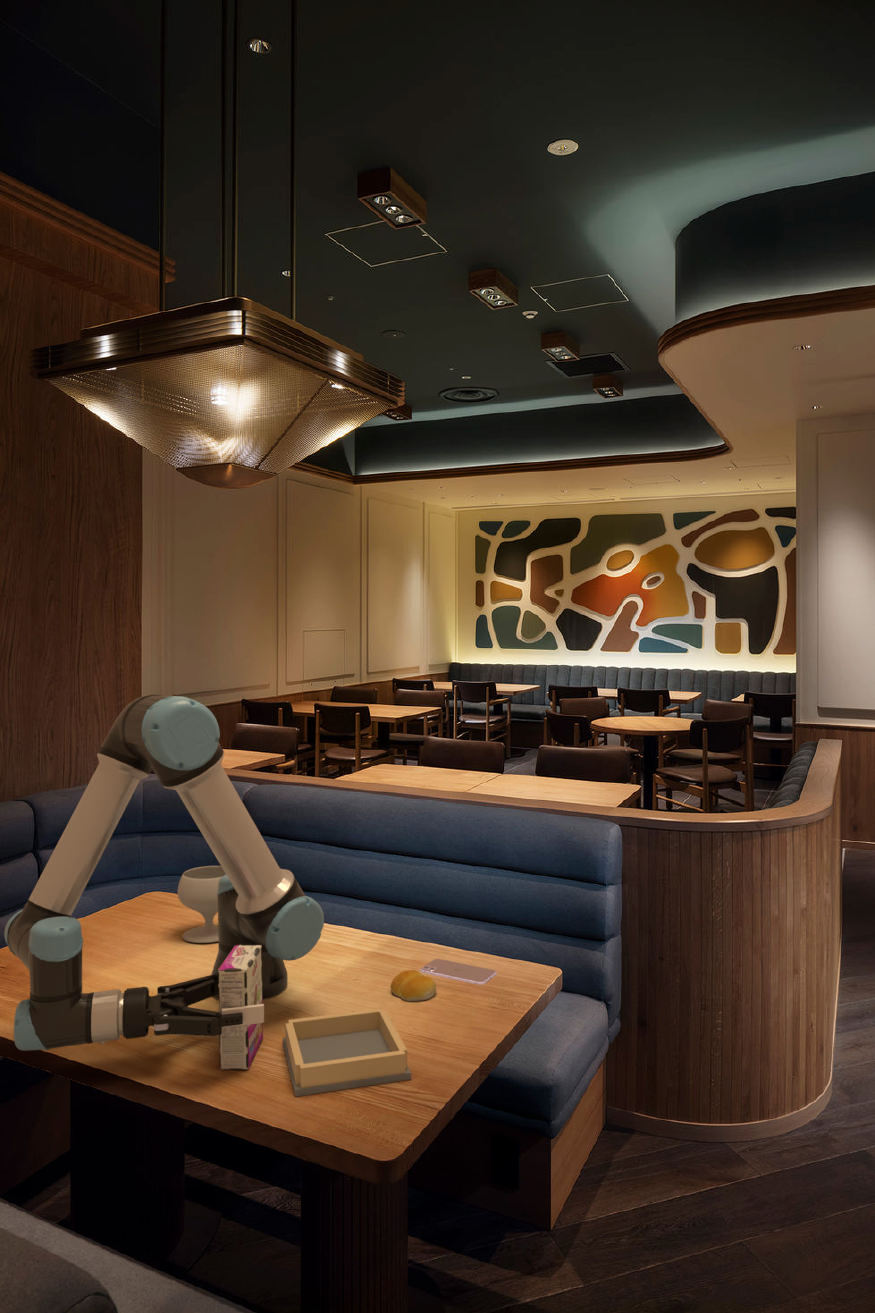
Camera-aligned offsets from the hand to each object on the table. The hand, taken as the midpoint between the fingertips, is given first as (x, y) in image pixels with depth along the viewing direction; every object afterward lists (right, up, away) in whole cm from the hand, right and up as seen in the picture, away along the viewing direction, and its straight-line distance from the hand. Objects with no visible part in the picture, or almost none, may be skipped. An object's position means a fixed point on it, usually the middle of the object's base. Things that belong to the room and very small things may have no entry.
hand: (261, 997), depth 142 cm
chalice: (-24, -9, +58) cm, 63 cm away
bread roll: (+25, -9, +24) cm, 36 cm away
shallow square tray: (+14, -9, -3) cm, 17 cm away
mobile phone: (+34, -9, +35) cm, 49 cm away
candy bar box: (-3, -9, -1) cm, 10 cm away
